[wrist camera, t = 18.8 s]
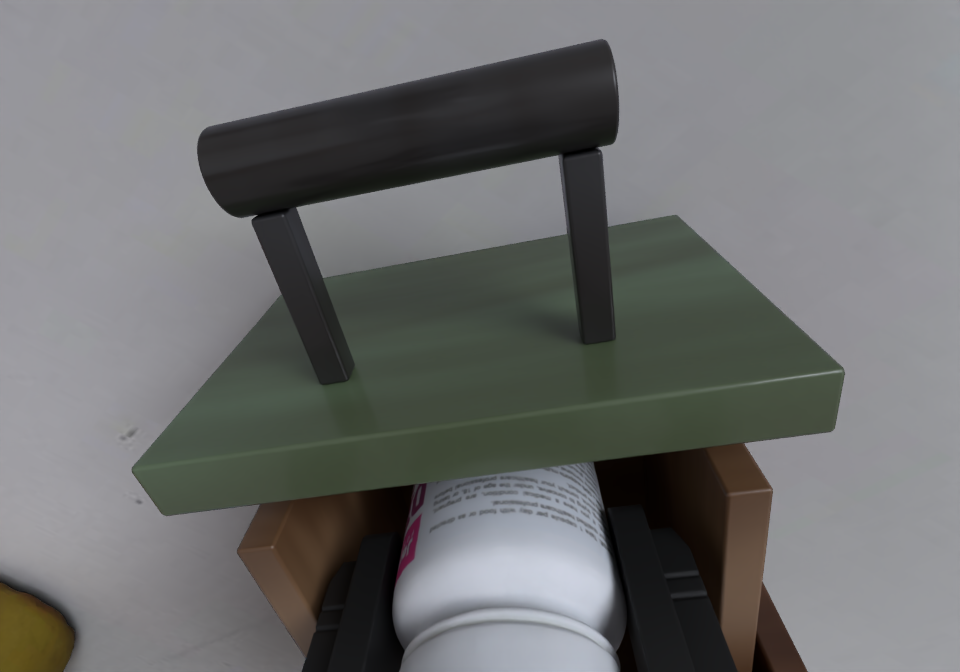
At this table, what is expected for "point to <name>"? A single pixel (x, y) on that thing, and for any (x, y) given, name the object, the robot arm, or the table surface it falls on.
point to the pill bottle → (510, 575)
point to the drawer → (484, 346)
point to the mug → (32, 634)
